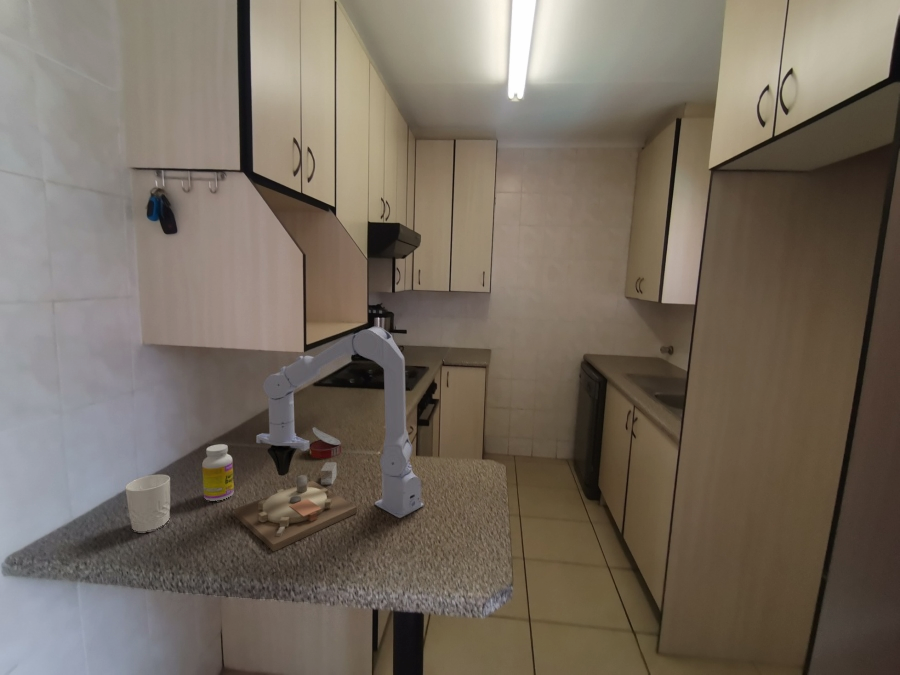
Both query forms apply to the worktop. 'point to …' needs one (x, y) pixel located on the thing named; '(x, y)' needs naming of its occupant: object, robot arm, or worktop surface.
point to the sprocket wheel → (294, 504)
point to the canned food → (324, 446)
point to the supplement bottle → (217, 473)
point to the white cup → (149, 502)
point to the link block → (328, 473)
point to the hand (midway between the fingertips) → (283, 473)
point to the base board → (284, 536)
